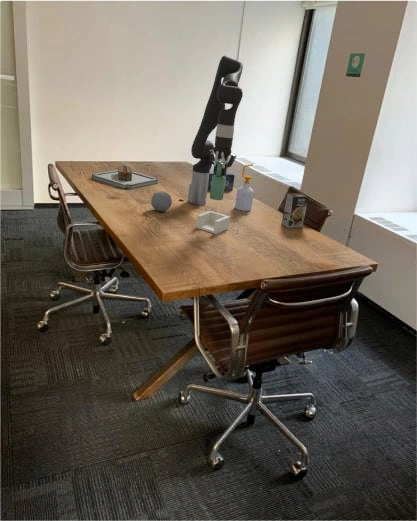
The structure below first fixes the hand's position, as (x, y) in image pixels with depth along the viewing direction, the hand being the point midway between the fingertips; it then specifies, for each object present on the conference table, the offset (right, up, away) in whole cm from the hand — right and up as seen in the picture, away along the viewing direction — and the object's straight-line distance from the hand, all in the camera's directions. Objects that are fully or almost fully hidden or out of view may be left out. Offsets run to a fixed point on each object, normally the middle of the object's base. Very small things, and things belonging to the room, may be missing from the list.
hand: (219, 175), depth 198 cm
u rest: (-3, -23, +10) cm, 25 cm away
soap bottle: (+14, -10, +46) cm, 49 cm away
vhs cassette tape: (+1, +6, +78) cm, 78 cm away
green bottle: (-1, -10, +4) cm, 11 cm away
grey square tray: (-55, +9, +71) cm, 90 cm away
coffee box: (+37, -20, +28) cm, 51 cm away
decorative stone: (-29, -13, +24) cm, 40 cm away
